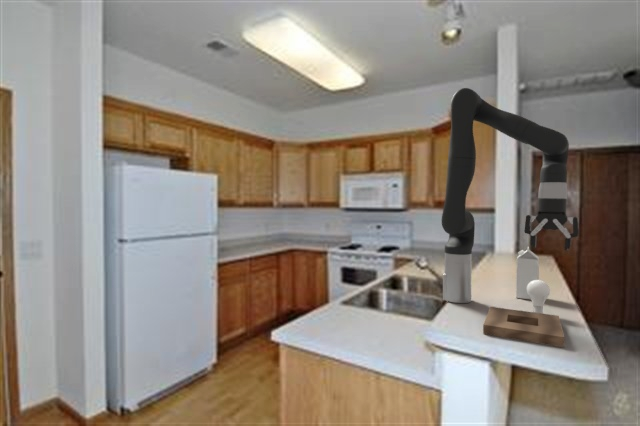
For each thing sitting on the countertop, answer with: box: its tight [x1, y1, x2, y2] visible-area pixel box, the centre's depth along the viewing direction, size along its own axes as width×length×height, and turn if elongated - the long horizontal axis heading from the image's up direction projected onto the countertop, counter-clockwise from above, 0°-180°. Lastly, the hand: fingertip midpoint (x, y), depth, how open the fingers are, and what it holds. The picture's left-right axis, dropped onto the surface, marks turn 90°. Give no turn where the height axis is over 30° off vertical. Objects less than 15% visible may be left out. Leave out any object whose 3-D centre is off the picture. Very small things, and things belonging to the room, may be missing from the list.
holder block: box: [482, 306, 565, 348], centre depth 100 cm, size 18×20×2 cm
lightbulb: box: [527, 279, 551, 314], centre depth 113 cm, size 6×6×11 cm
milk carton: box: [515, 246, 540, 301], centre depth 135 cm, size 7×7×19 cm
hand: (550, 248), depth 113 cm, fingers open, 8 cm apart
